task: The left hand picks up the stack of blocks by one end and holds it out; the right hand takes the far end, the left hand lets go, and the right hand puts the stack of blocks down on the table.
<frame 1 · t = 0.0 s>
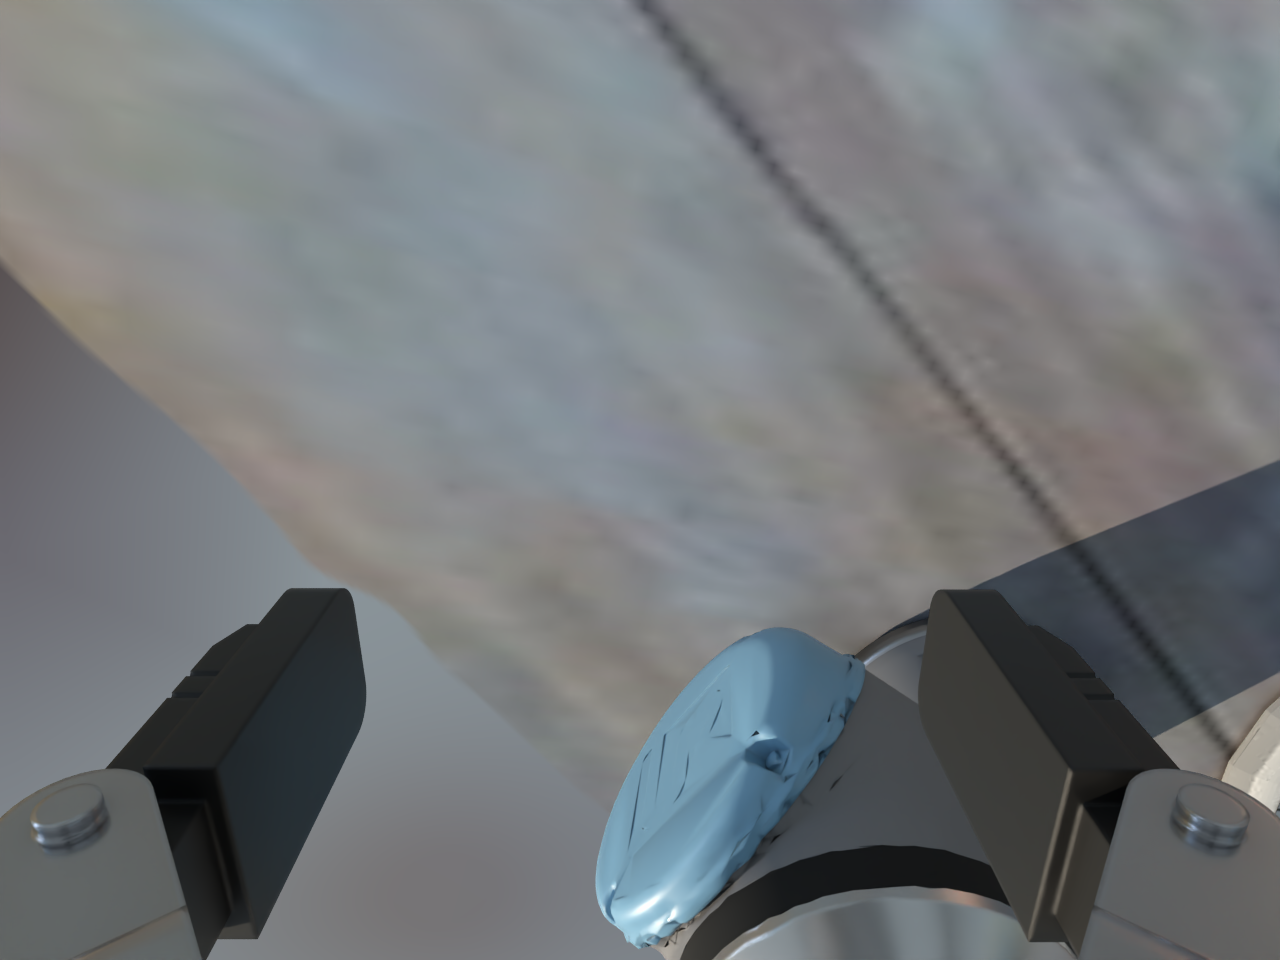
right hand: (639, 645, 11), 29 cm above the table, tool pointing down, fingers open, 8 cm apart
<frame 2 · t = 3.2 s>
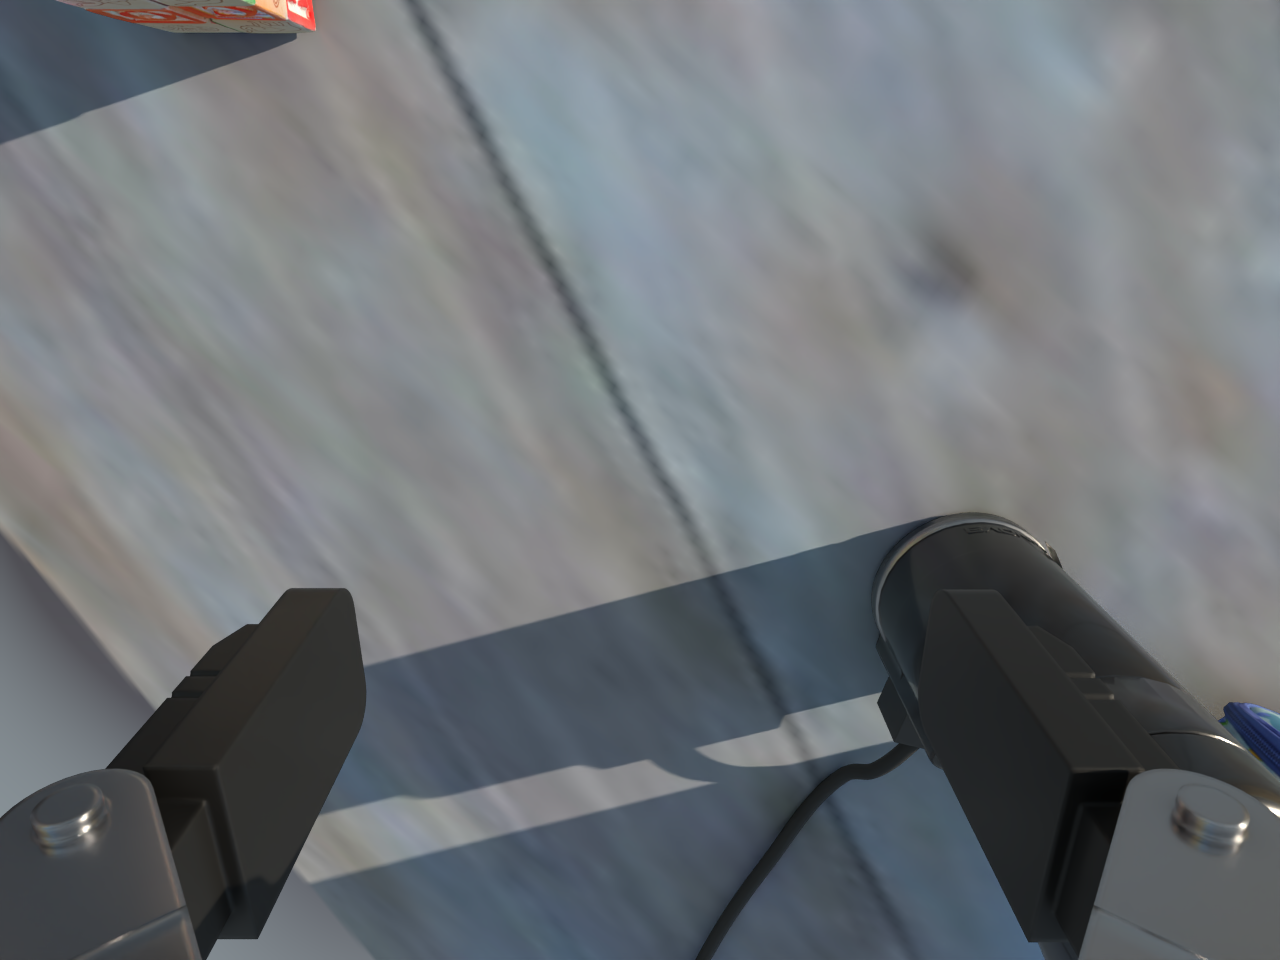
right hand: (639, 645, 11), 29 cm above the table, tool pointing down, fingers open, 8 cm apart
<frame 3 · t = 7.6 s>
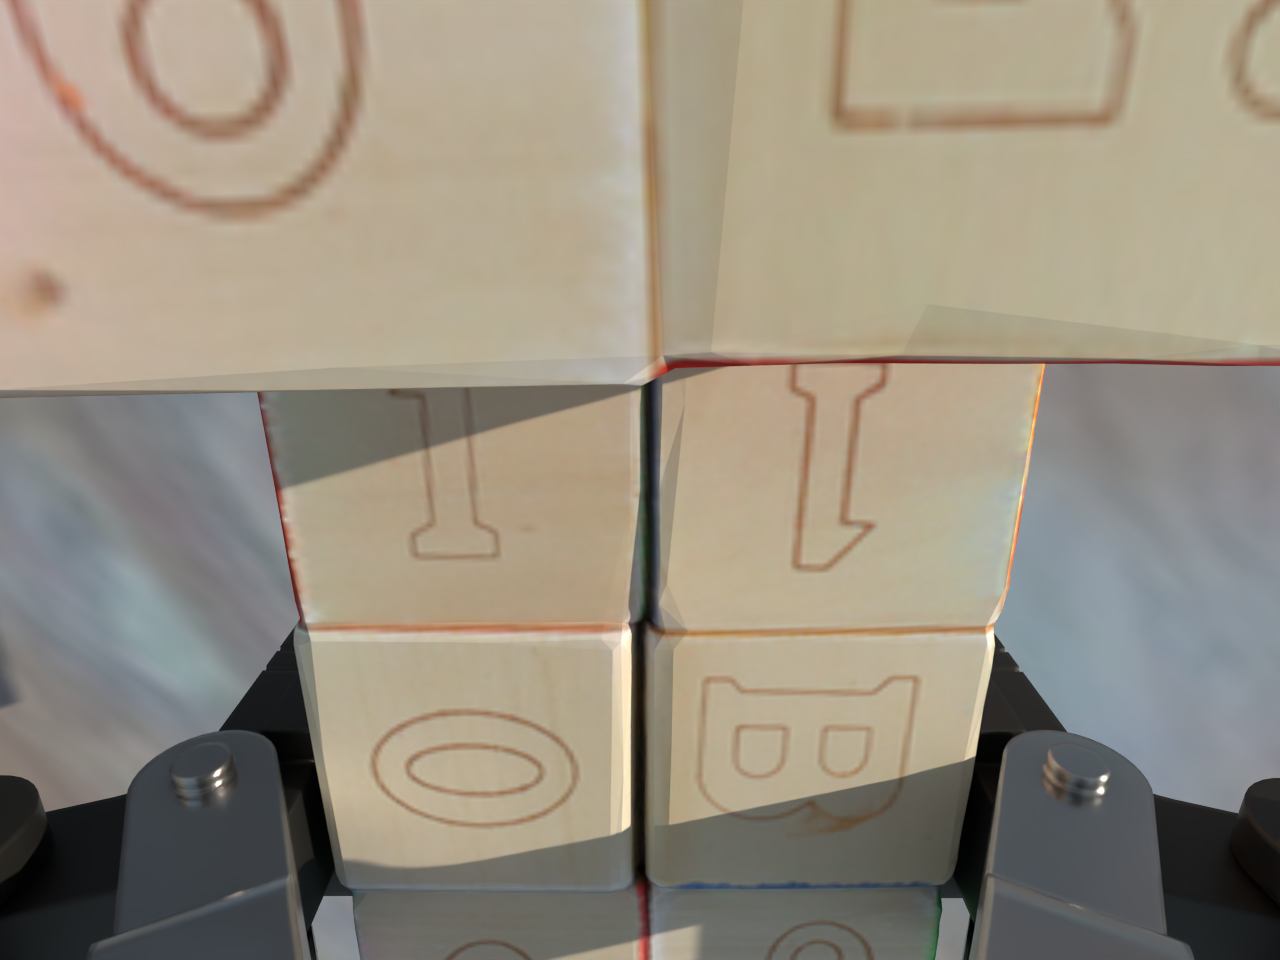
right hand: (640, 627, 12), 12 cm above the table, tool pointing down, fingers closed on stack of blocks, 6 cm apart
stack of blocks: (640, 106, 14), point 7 cm above the table, touching right hand, left hand
when the left hand's fingers open (10 cm above the table, at t = 8.7 s): stack of blocks stays where it is, held by the right hand.
when the right hand's fingers open (6 cm above the table, at t = 18.0 s): stack of blocks drops 1 cm, on the table.
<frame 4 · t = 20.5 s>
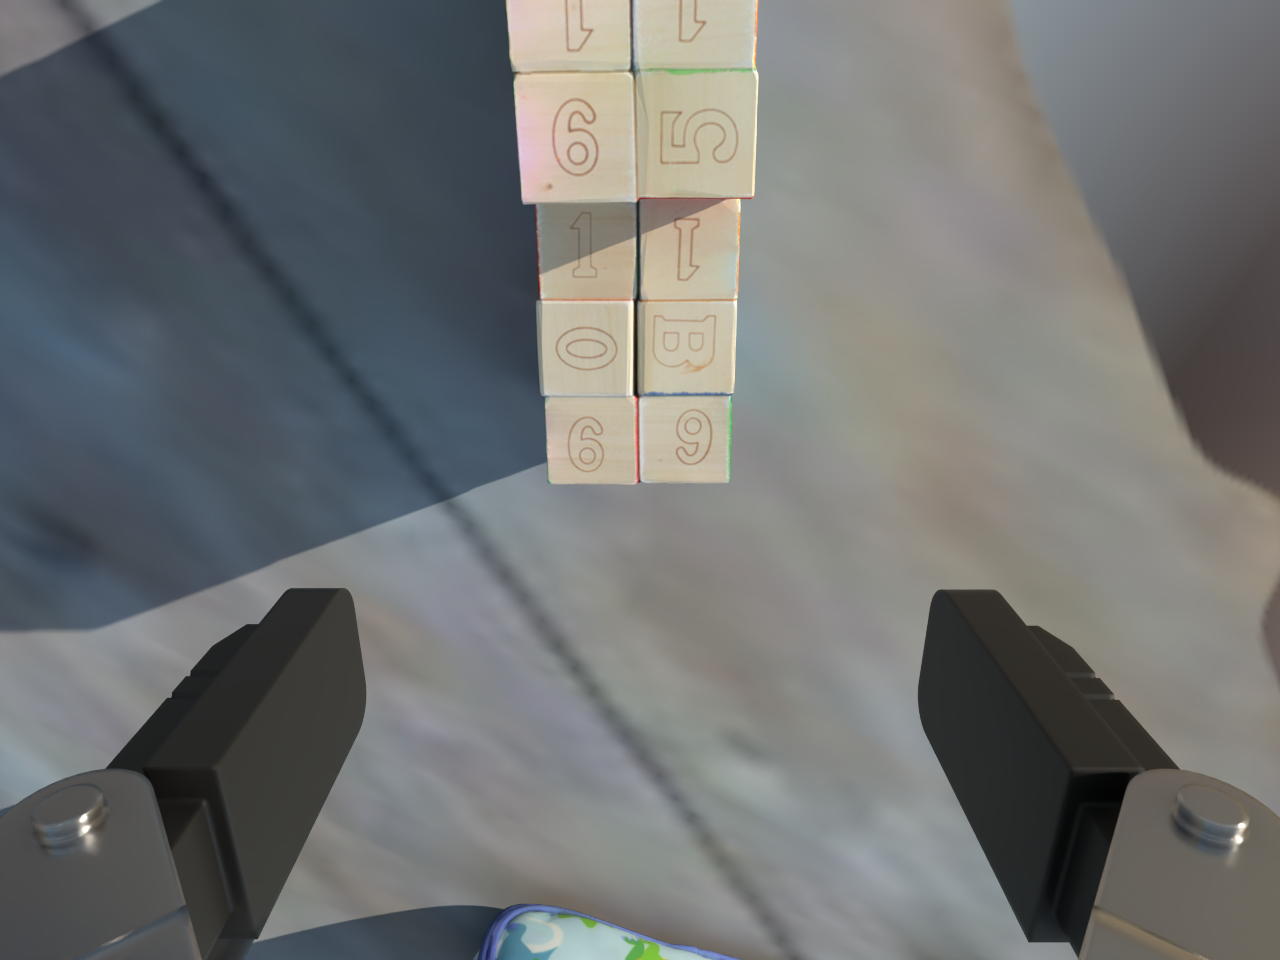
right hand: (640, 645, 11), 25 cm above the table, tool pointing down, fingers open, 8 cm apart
stack of blocks: (637, 143, 32), on the table
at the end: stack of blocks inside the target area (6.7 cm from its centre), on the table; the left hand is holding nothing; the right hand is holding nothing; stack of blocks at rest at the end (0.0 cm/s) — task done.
